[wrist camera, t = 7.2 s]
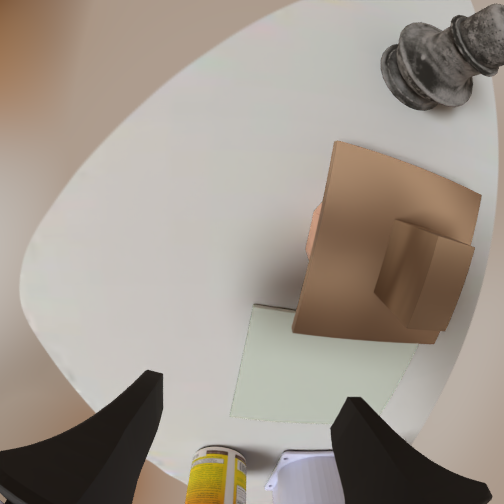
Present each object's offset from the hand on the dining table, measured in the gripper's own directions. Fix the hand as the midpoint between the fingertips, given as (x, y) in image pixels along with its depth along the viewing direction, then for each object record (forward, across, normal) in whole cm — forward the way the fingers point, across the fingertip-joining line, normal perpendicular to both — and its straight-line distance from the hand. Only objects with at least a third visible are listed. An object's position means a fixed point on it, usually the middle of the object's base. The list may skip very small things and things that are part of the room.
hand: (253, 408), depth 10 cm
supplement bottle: (+10, 0, +19) cm, 21 cm away
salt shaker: (+10, -8, -18) cm, 22 cm away
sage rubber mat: (+9, -7, +6) cm, 13 cm away
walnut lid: (+6, -7, -6) cm, 11 cm away
